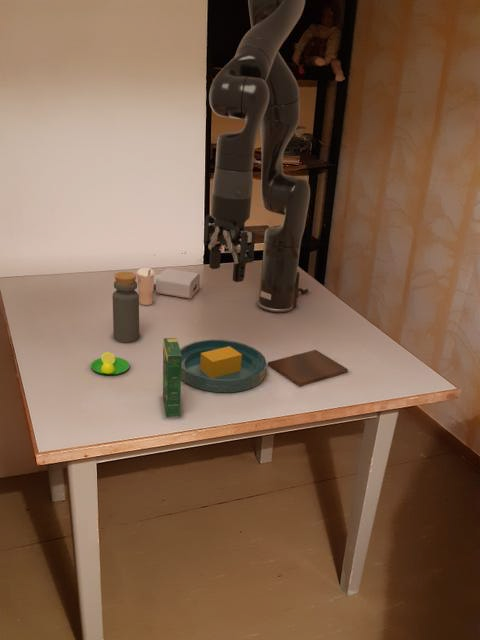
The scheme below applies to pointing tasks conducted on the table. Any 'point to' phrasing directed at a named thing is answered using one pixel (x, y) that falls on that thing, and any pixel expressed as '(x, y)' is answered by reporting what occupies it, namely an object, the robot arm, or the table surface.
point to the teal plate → (234, 382)
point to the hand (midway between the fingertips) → (225, 274)
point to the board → (307, 367)
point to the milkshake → (145, 285)
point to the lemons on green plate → (109, 364)
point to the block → (220, 362)
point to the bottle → (125, 308)
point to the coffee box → (171, 377)
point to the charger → (177, 283)
